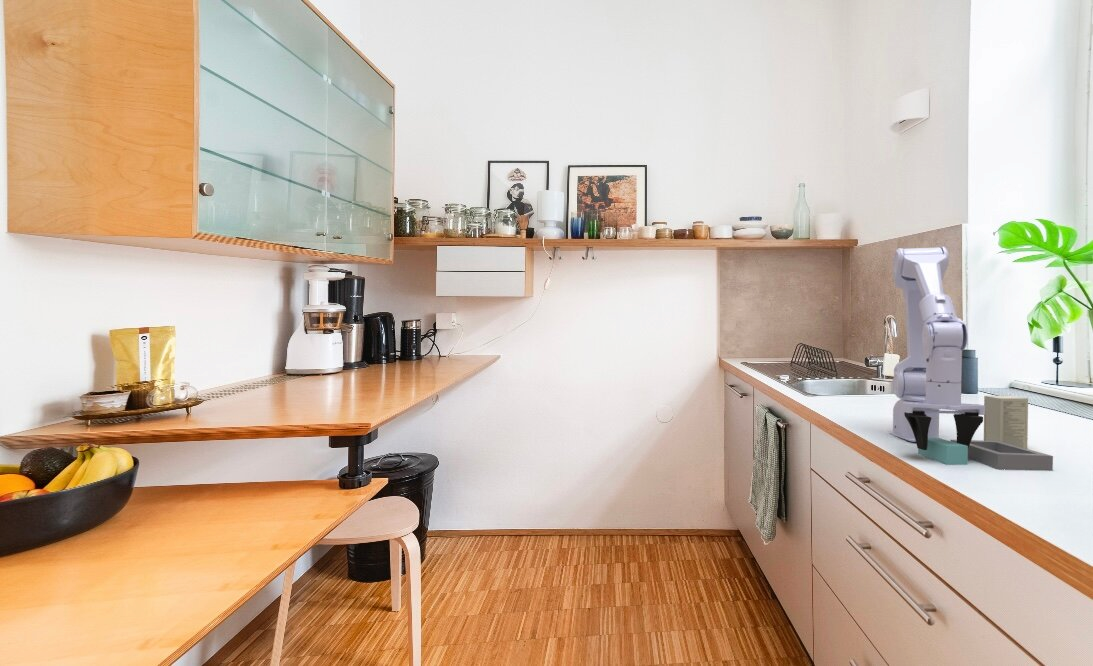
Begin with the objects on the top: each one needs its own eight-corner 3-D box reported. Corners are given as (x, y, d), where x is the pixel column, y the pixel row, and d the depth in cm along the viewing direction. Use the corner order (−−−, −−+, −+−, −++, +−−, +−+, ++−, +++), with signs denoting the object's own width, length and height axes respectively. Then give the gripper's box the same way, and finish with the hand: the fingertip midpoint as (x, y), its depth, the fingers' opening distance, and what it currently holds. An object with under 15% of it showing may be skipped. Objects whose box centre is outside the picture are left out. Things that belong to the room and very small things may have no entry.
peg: (917, 456, 112) (918, 437, 112) (937, 456, 112) (937, 437, 112) (946, 466, 104) (947, 445, 104) (967, 466, 104) (967, 446, 104)
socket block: (950, 453, 114) (950, 439, 114) (998, 455, 113) (998, 441, 113) (997, 470, 101) (998, 454, 101) (1052, 472, 100) (1052, 455, 100)
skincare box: (1010, 450, 118) (1011, 395, 118) (1028, 455, 113) (1029, 397, 113) (981, 450, 118) (982, 394, 118) (999, 455, 113) (1000, 397, 113)
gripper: (916, 382, 104) (915, 452, 104) (997, 384, 103) (995, 455, 103) (896, 379, 111) (895, 445, 111) (971, 381, 110) (970, 447, 110)
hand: (942, 449), depth 108 cm, fingers open, 7 cm apart
